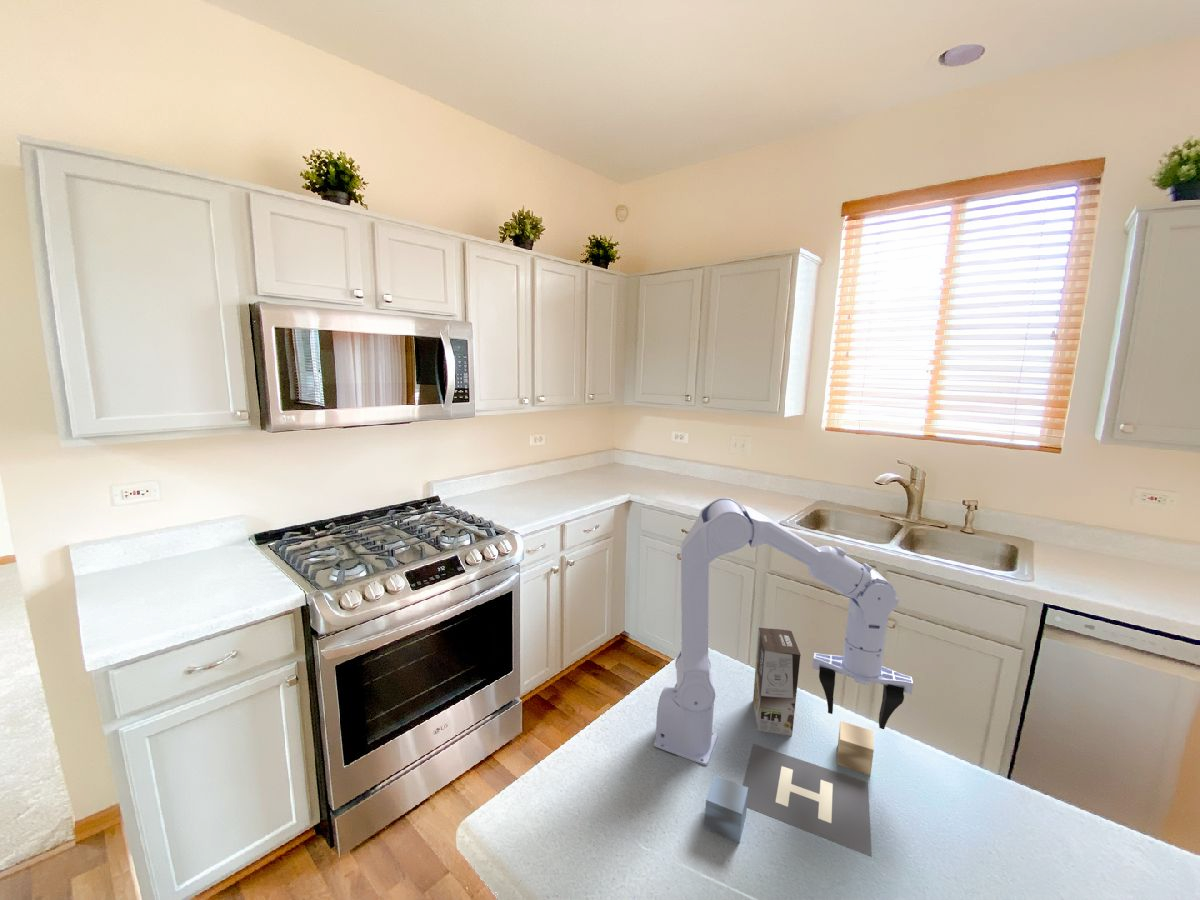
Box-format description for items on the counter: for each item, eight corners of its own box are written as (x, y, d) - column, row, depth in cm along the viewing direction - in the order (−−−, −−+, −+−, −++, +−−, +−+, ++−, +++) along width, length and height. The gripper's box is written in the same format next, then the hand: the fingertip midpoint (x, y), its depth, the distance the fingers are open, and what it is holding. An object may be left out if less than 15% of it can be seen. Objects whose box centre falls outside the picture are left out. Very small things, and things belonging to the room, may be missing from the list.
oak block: (836, 765, 84) (839, 739, 83) (837, 746, 88) (840, 721, 88) (870, 777, 82) (873, 749, 81) (869, 756, 86) (872, 730, 85)
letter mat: (737, 804, 76) (737, 803, 76) (753, 744, 88) (753, 743, 88) (871, 857, 68) (871, 856, 68) (867, 783, 80) (867, 782, 80)
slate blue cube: (703, 830, 71) (706, 799, 71) (712, 803, 76) (714, 774, 75) (739, 845, 69) (741, 814, 68) (745, 817, 74) (748, 787, 73)
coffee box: (793, 737, 90) (801, 655, 88) (756, 731, 91) (763, 650, 89) (785, 705, 99) (792, 629, 96) (752, 700, 100) (758, 625, 98)
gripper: (815, 642, 81) (807, 717, 83) (919, 667, 75) (908, 748, 77) (817, 623, 87) (809, 693, 89) (913, 645, 81) (903, 720, 83)
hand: (855, 717), depth 83 cm, fingers open, 7 cm apart
